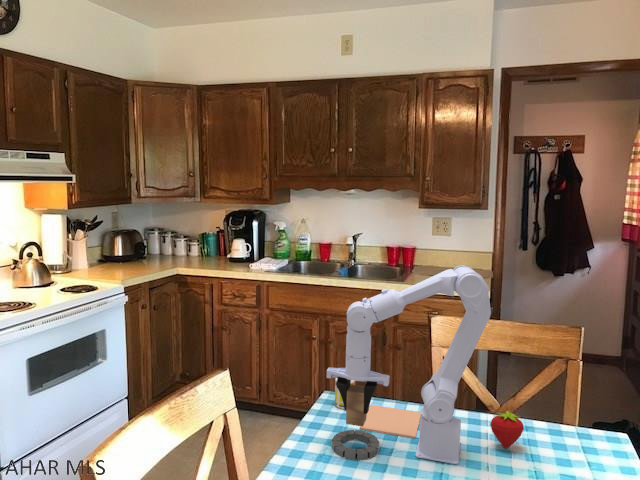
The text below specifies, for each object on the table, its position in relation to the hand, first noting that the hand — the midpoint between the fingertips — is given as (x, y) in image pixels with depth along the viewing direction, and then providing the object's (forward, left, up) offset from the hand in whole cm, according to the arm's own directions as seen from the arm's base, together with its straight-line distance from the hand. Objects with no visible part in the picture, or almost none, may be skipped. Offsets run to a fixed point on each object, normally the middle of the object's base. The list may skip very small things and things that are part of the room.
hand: (356, 410), depth 120 cm
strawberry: (-34, -12, -9) cm, 37 cm away
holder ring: (0, 0, -9) cm, 9 cm away
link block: (0, 0, -3) cm, 3 cm away
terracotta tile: (-6, -16, -9) cm, 19 cm away
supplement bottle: (+8, -21, -9) cm, 24 cm away
